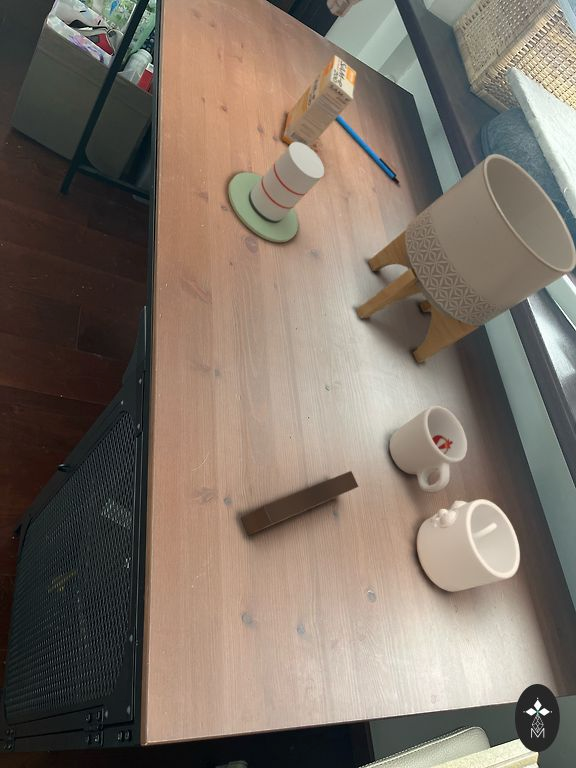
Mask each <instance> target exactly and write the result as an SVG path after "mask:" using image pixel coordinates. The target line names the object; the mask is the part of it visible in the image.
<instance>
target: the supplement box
mask: <svg viewBox="0 0 576 768" xmlns="http://www.w3.org/2000/svg"><path fill="white" fill-rule="evenodd" d="M356 79H357V72H356V71H355V70H354V69H353V68H352V67H350V66H349V65H348V64H347V63H346V62H345V61H344V60H342V59H341V58H340V57H339V56H338V55H336V54H335V55H333V57H332V58H331V60H330V61H329V62H328V63H327V64H326V66H325V67H324V68H323V70H322V71H320V73H319V75H317V77H316V78H315V79H314V81H313V82H312V83H311V84H310V85H309V87H307V89H306V90H305V91H304V93H303V94H302V95H301V96H300V98H299V99H298V100H297V102H296V103H295V104H294V105H293V107H292V108H291V109H290V110H289V111H288V113H287V117H286V122H285V128H284V131H283V133H282V139H281V140H282V141H283V142H284V143H286V144H287V145H289V146H290V144H291V143H293V142H300V143H302V144H305V145H306V146H308V147H309V148H311V147H312V146H313V145H314V144H315V143H316V142H317V141H318V139H319V138H320V137H321V136H322V135H323V134H324V132H325V131H326V130H327V129H328V128H329V127H330V126H331V125H332V124H333V122H334V121H335V120H336V118H337V117H338V116H340V115H341V114H342V112H343V111H344V110H346V108H347V107H348V106H349V104H350V103H351V102H352V101H353V100H354V94H355V87H356V81H357V80H356Z"/></svg>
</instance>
